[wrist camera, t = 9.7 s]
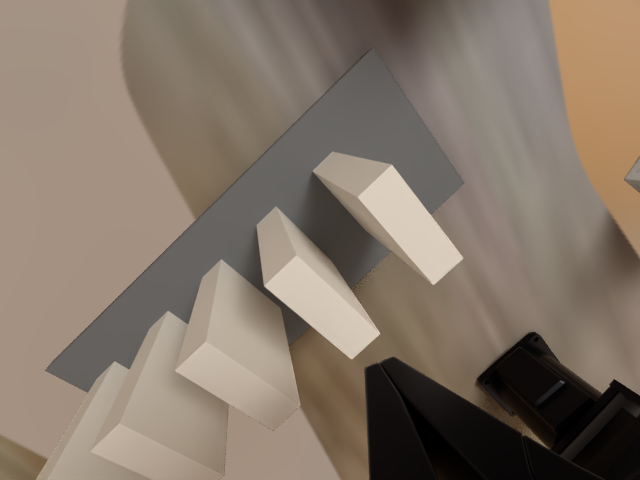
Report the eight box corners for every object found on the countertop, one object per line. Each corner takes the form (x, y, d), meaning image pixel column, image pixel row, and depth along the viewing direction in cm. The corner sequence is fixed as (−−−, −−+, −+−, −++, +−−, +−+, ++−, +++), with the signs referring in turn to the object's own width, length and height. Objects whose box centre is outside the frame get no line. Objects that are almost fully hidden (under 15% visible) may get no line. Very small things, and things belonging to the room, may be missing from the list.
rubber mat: (457, 181, 22) (464, 183, 21) (186, 432, 23) (184, 442, 22) (368, 50, 18) (373, 47, 17) (52, 361, 19) (44, 370, 19)
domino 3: (221, 259, 19) (206, 341, 11) (280, 308, 21) (300, 406, 13) (202, 277, 19) (174, 370, 12) (263, 324, 21) (273, 431, 13)
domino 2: (168, 310, 19) (119, 423, 12) (231, 354, 21) (224, 475, 14) (149, 328, 19) (89, 451, 12) (214, 370, 21) (197, 499, 14)
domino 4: (276, 206, 19) (296, 255, 11) (331, 260, 20) (380, 333, 13) (256, 225, 19) (264, 286, 11) (313, 277, 21) (351, 359, 13)
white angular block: (332, 151, 18) (392, 164, 11) (383, 211, 20) (463, 258, 13) (312, 171, 18) (357, 197, 11) (364, 229, 20) (433, 285, 13)
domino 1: (114, 361, 19) (33, 502, 12) (182, 399, 21) (148, 542, 14) (96, 378, 19) (5, 529, 12) (165, 415, 21) (123, 565, 14)
